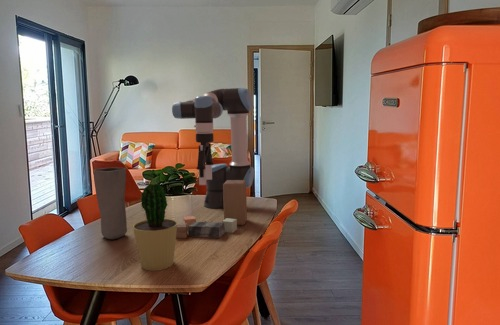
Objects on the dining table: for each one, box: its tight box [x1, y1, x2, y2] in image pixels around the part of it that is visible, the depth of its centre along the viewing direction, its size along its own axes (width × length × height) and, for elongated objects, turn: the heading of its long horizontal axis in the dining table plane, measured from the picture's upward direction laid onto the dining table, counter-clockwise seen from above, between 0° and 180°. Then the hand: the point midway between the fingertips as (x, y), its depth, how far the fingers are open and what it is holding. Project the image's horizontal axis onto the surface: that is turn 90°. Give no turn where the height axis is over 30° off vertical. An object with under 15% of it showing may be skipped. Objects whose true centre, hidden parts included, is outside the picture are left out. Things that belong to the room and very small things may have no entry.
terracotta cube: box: [182, 215, 197, 231], centre depth 192 cm, size 5×5×5 cm
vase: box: [93, 167, 128, 240], centre depth 178 cm, size 12×12×30 cm
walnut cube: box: [176, 223, 188, 239], centre depth 180 cm, size 5×5×5 cm
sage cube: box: [221, 218, 238, 233], centre depth 187 cm, size 5×5×5 cm
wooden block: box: [223, 180, 248, 226], centre depth 199 cm, size 10×10×20 cm
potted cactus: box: [132, 183, 178, 271], centre depth 147 cm, size 15×15×30 cm
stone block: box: [187, 220, 226, 239], centre depth 182 cm, size 9×14×5 cm, turn 74°
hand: (205, 182), depth 180 cm, fingers open, 13 cm apart
